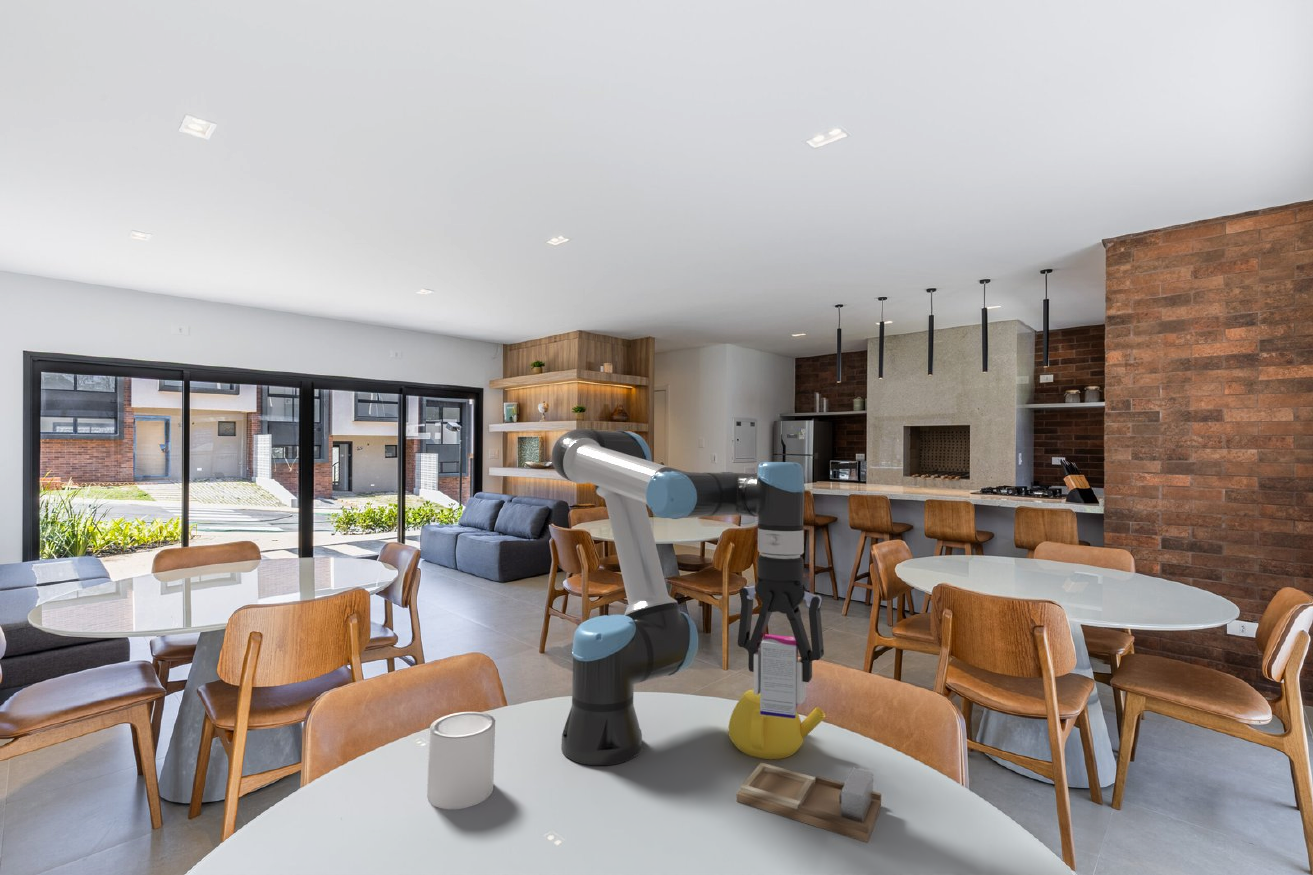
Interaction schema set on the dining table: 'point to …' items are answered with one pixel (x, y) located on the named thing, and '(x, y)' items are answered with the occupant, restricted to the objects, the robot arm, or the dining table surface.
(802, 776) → the board
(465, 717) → the mug
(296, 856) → the dining table surface
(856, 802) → the block
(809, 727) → the teapot
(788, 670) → the supplement box
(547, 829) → the dining table surface
